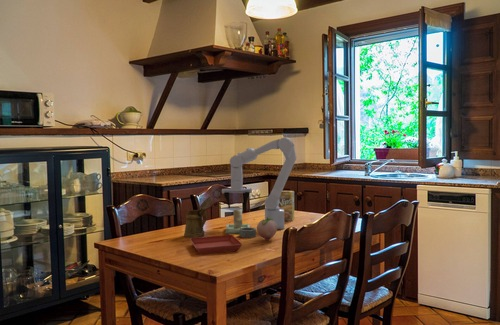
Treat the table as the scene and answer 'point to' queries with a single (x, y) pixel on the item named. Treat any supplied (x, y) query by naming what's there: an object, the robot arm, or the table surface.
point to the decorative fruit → (267, 228)
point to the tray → (231, 229)
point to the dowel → (237, 218)
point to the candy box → (287, 204)
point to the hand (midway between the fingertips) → (237, 207)
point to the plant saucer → (216, 244)
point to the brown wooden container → (196, 221)
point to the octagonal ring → (247, 232)
